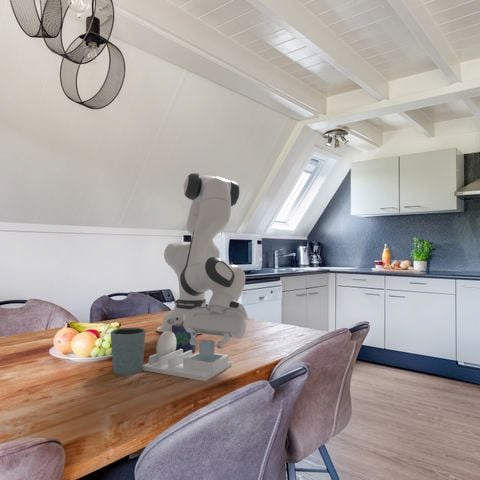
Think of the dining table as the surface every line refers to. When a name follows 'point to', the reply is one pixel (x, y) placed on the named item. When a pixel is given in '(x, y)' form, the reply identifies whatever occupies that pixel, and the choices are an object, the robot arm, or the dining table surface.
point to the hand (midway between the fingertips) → (205, 345)
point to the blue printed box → (182, 338)
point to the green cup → (127, 350)
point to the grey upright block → (206, 350)
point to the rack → (183, 361)
